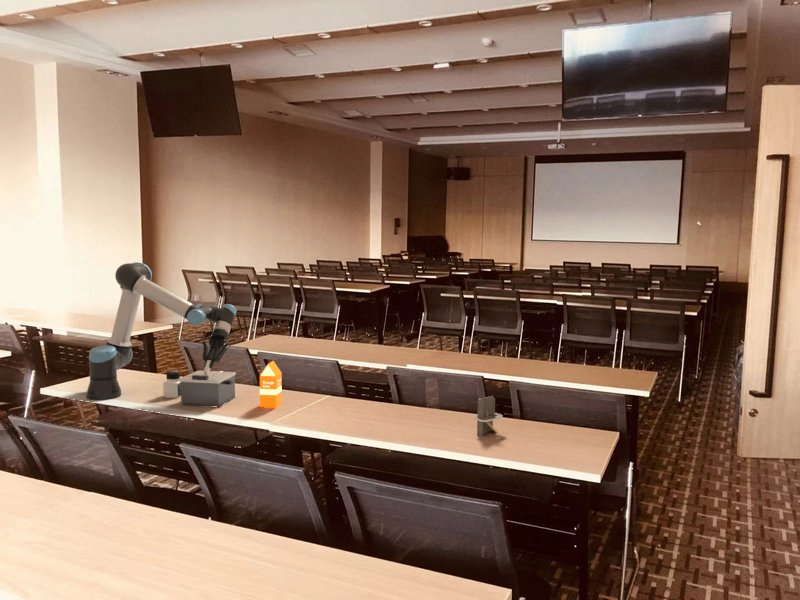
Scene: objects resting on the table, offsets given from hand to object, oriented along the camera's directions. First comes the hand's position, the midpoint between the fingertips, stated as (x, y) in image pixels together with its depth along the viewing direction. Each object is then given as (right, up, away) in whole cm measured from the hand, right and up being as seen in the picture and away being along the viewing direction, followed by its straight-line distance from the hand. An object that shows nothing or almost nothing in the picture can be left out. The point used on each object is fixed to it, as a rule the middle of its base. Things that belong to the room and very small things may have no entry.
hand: (205, 373), depth 292 cm
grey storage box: (0, -14, +4) cm, 14 cm away
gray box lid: (0, -2, +3) cm, 4 cm away
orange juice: (+30, -15, -2) cm, 34 cm away
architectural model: (+124, -20, -40) cm, 132 cm away
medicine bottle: (-20, -13, +13) cm, 27 cm away
